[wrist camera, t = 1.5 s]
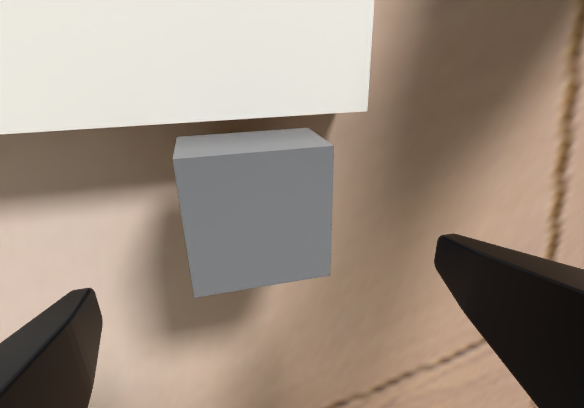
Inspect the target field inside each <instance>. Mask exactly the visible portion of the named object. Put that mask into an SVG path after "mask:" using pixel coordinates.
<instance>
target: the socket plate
mask: <svg viewBox="0 0 584 408" xmlns="http://www.w3.org/2000/svg"><path fill="white" fill-rule="evenodd" d="M373 14H374V0H0V134H14V133H30V132H46V131H62V130H78V129H94V128H109V127H125V126H141V125H157V124H173V123H189V122H205V121H220V120H236V119H252V118H268V117H284V116H300V115H315V114H331V113H347V112H363V111H367V107H368V92H369V76H370V60H371V45H372V29H373Z"/></svg>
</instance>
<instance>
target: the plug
mask: <svg viewBox="0 0 584 408" xmlns="http://www.w3.org/2000/svg"><path fill="white" fill-rule="evenodd" d="M333 158H334V145H332V144H331V143H329V142H328V141H326V140H325V139H323V138H322V137H321V136H319V135H318V134H316V133H315V132H313V131H312V130H311V129H309V128H294V129H280V130H266V131H252V132H238V133H224V134H210V135H196V136H181V137H177V139H176V144H175V149H174V154H173V159H172V160H173V166H174V172H175V179H176V185H177V191H178V198H179V204H180V211H181V217H182V223H183V230H184V236H185V242H186V249H187V255H188V261H189V268H190V274H191V281H192V287H193V293H194V298H196V297H202V296H208V295H214V294H221V293H227V292H233V291H239V290H245V289H251V288H257V287H263V286H269V285H275V284H281V283H287V282H293V281H299V280H305V279H312V278H318V277H324V276H330V264H331V229H332V194H333Z"/></svg>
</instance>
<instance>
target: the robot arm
mask: <svg viewBox="0 0 584 408" xmlns="http://www.w3.org/2000/svg"><path fill="white" fill-rule="evenodd" d="M434 264H435V267H436V270H437V271H438V273H439V274H440V276H441V278H442V279H443V281H444V282H445V284H446V285H447V287H448V289H449V290H450V292H451V293H452V295H453V296H454V298H455V299H456V301H457V303H458V304H459V306H460V307H461V309H462V310H463V312H464V313H465V314H466V316H467V317H468V318H469V320H470V321H471V322H472V324H473V325H474V326H475V327H476V329H477V330H478V331H479V333H480V334H481V335H482V336H483V338H484V339H485V340H486V341H487V343H488V344H489V345H490V347H491V348H492V349H493V350H494V352H495V353H496V354H497V355H498V357H499V358H500V359H501V361H502V362H503V363H504V364H505V366H506V367H507V368H508V370H509V371H510V372H511V373H512V375H513V376H514V377H515V378H516V380H517V381H518V382H519V384H520V385H521V386H522V387H523V389H524V390H525V391H526V392H527V394H528V395H529V396H530V398H531V399H532V400H533V401H534V403H535V404H536V405H537V407H538V408H584V269H580V268H576V267H573V266H569V265H566V264H562V263H558V262H555V261H551V260H548V259H544V258H540V257H537V256H533V255H530V254H526V253H522V252H519V251H515V250H512V249H508V248H504V247H501V246H497V245H494V244H490V243H486V242H483V241H479V240H476V239H472V238H468V237H465V236H461V235H458V234H446V235H441V236H440V237H439V238H438V241H437V247H436V253H435V259H434ZM101 332H102V315H101V311H100V308H99V305H98V301H97V298H96V294H95V292H94V290H93V289H92V288H84V289H77V290H73V291H71V292H69V293H68V294H67V295H65V296H64V297H62V298H61V299H60V300H58V301H57V302H56V303H54V304H53V305H52V306H50V307H49V308H48V309H46V310H45V311H43V312H42V313H41V314H39V315H38V316H37V317H35V318H34V319H33V320H31V321H30V322H28V323H27V324H26V325H24V326H23V327H22V328H20V329H19V330H18V331H16V332H15V333H13V334H12V335H11V336H9V337H8V338H7V339H5V340H4V341H3V342H1V343H0V408H88V404H89V401H90V397H91V393H92V389H93V384H94V378H95V371H96V365H97V358H98V351H99V345H100V338H101Z"/></svg>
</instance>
